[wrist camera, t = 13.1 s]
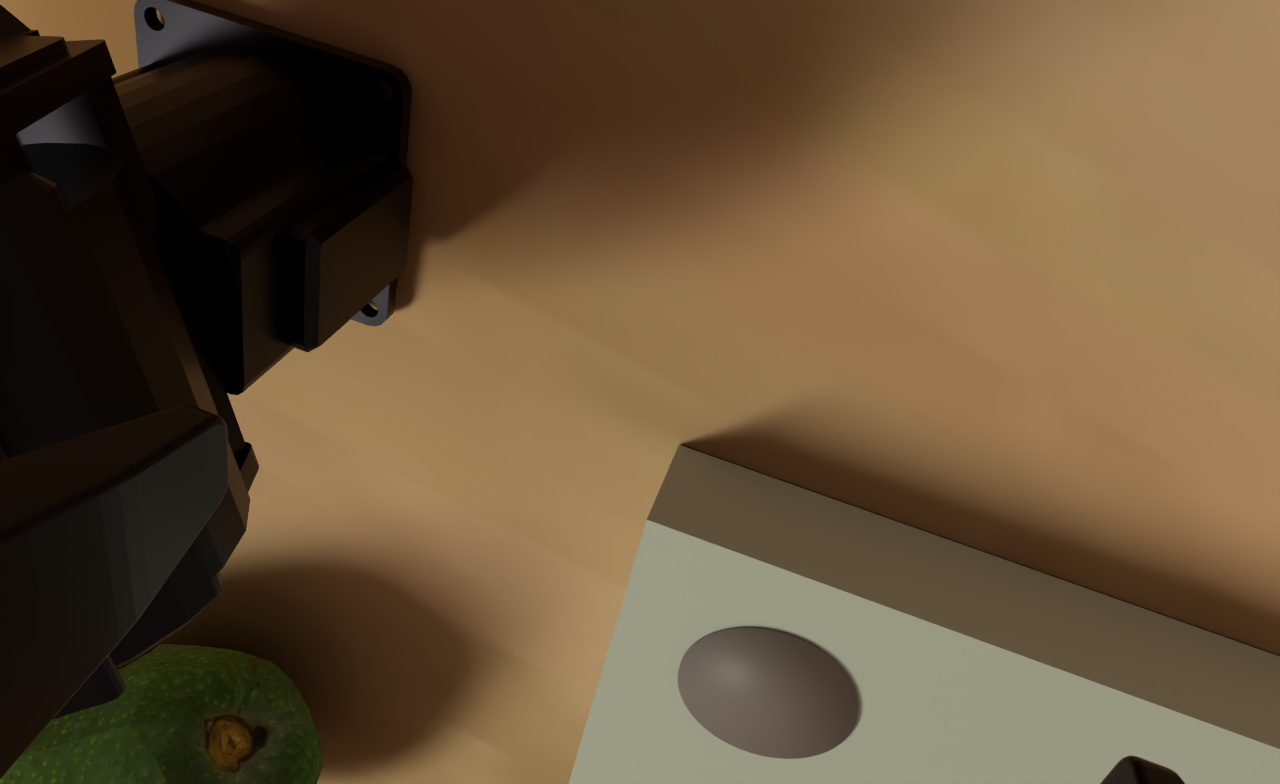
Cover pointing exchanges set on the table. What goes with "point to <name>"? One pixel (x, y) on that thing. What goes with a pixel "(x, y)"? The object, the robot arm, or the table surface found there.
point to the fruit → (183, 727)
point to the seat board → (895, 658)
